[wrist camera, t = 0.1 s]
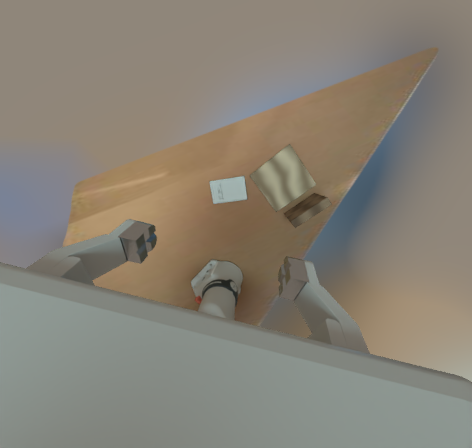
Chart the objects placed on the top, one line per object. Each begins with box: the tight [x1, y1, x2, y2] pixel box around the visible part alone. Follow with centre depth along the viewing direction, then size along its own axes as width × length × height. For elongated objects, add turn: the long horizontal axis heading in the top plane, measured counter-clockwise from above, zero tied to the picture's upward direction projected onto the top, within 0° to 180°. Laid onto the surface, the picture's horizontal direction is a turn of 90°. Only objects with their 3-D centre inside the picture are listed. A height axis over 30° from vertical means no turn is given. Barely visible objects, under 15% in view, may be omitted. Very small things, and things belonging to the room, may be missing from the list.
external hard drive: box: [209, 176, 247, 204], centre depth 61 cm, size 2×8×12 cm
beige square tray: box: [250, 144, 316, 212], centre depth 58 cm, size 16×16×1 cm
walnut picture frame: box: [284, 193, 332, 228], centre depth 55 cm, size 12×3×11 cm, turn 128°
